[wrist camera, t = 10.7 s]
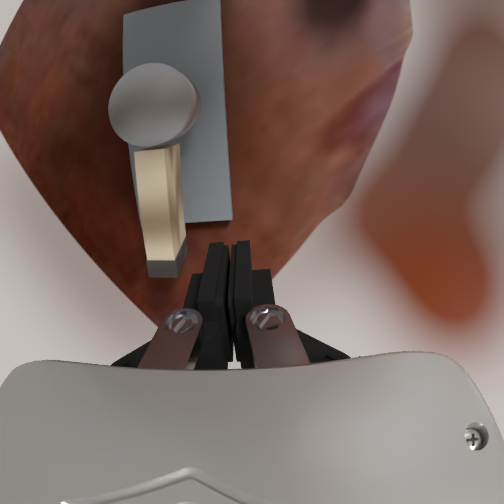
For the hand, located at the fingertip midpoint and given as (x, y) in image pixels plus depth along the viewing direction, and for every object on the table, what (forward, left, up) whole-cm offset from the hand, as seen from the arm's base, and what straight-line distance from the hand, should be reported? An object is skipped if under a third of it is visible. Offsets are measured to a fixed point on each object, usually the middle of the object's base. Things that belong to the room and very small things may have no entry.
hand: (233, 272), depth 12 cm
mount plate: (-8, -6, -19) cm, 21 cm away
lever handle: (-3, -6, -15) cm, 16 cm away
